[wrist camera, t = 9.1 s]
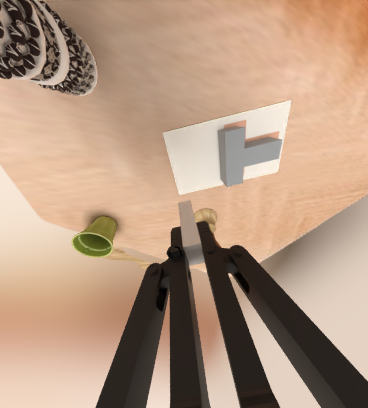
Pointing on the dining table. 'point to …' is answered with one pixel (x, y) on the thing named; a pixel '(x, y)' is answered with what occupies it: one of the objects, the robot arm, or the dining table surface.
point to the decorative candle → (44, 49)
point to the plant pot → (96, 238)
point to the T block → (243, 153)
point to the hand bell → (207, 219)
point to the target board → (209, 146)
